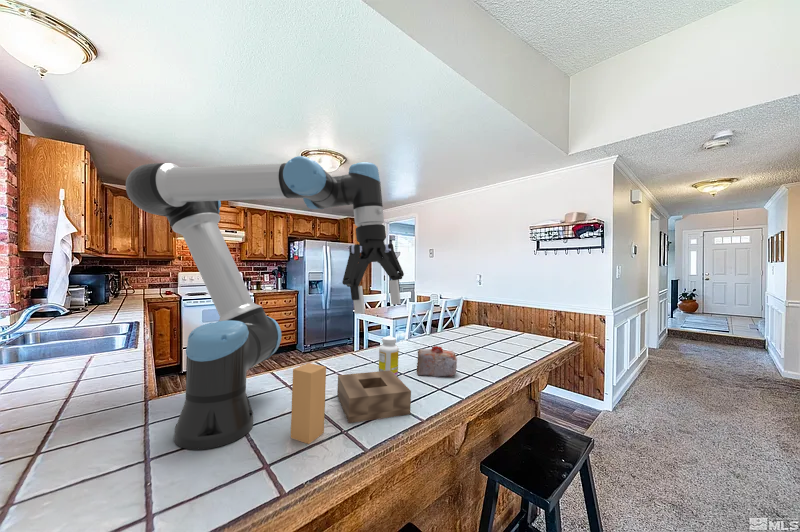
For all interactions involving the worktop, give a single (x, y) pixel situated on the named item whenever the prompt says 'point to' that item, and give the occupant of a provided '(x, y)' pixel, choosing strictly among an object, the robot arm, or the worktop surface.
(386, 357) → the supplement bottle
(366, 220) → the robot arm
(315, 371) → the peg
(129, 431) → the worktop surface
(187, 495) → the worktop surface
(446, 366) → the food item
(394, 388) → the socket block
